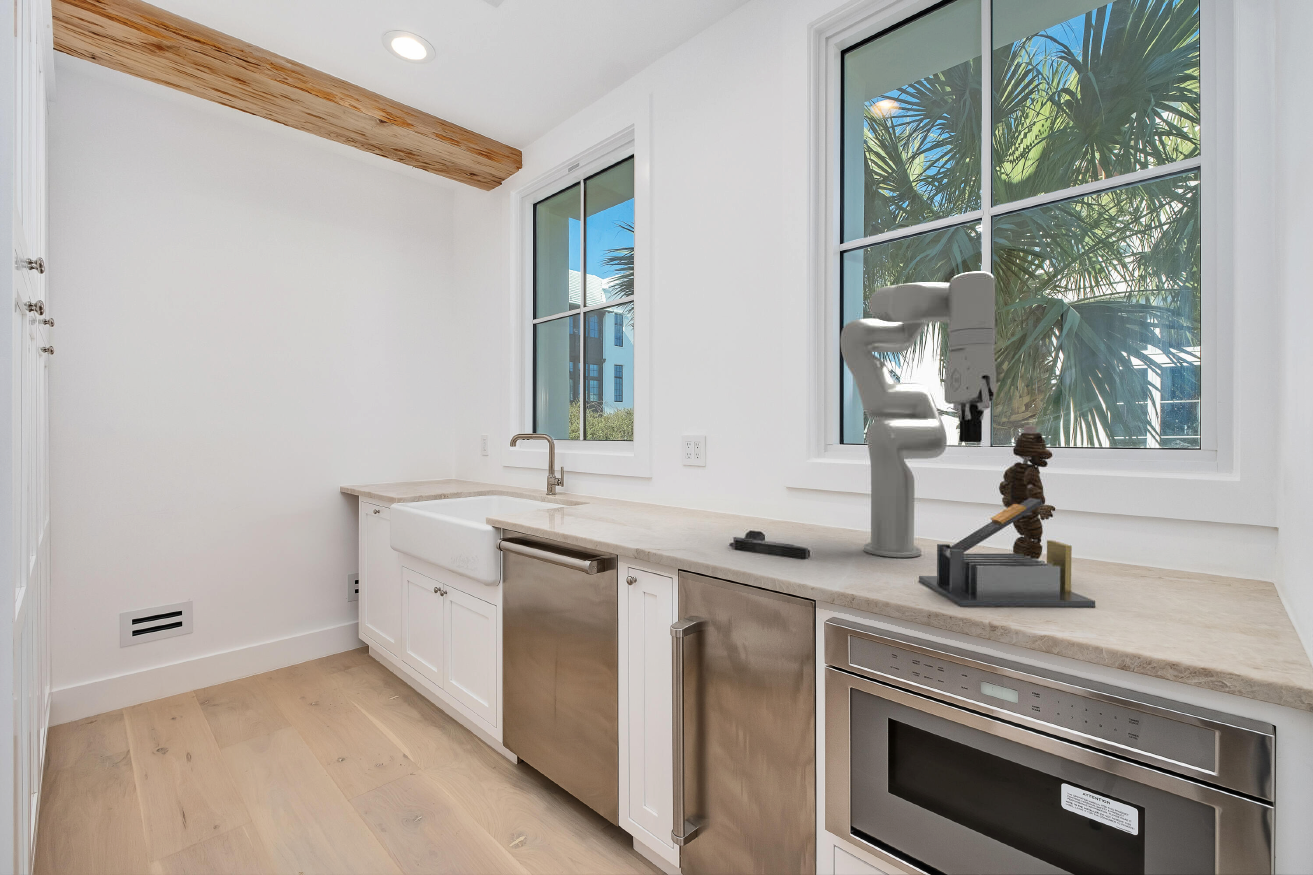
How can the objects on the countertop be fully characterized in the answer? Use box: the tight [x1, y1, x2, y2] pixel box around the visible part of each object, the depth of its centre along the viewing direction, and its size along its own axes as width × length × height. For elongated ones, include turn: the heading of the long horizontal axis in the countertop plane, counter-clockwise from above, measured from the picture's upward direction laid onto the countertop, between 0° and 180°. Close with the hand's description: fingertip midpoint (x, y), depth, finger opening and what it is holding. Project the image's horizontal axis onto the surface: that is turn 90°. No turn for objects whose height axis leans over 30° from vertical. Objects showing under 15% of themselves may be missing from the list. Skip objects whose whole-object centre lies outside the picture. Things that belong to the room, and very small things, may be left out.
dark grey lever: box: [941, 498, 1043, 558], centre depth 105 cm, size 19×4×2 cm
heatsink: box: [918, 539, 1096, 608], centre depth 105 cm, size 22×16×9 cm
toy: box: [998, 425, 1056, 560], centre depth 121 cm, size 20×7×30 cm, turn 168°
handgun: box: [728, 530, 811, 560], centre depth 143 cm, size 3×21×12 cm
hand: (970, 441), depth 108 cm, fingers closed
